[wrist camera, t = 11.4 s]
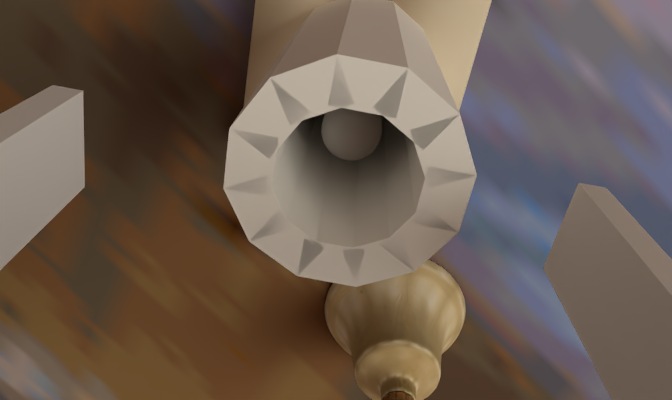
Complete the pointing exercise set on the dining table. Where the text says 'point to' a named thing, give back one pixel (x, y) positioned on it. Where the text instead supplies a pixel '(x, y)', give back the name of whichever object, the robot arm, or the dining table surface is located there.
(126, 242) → the dining table surface
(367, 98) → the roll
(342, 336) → the hand bell
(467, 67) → the stand
